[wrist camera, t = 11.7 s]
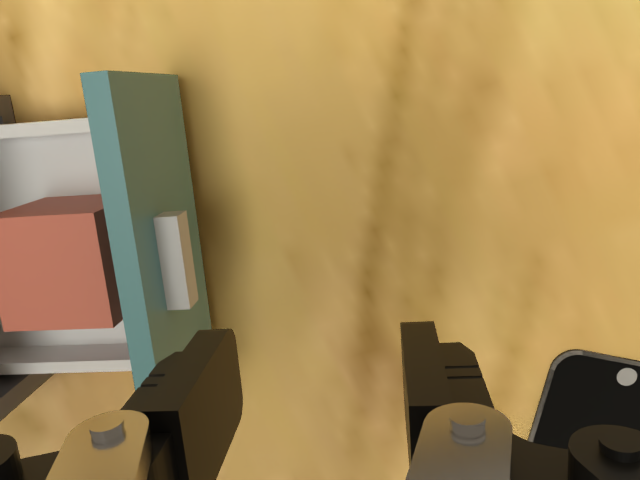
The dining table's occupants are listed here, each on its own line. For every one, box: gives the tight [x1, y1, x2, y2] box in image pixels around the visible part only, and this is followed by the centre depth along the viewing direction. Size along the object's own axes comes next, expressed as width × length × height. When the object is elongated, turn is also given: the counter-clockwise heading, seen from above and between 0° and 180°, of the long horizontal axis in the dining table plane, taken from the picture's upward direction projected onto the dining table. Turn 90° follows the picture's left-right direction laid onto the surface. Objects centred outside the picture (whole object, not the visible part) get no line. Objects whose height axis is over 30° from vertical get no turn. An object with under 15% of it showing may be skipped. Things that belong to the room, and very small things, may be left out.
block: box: [0, 194, 123, 332], centre depth 27 cm, size 5×5×5 cm
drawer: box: [0, 71, 212, 391], centre depth 26 cm, size 15×14×7 cm
